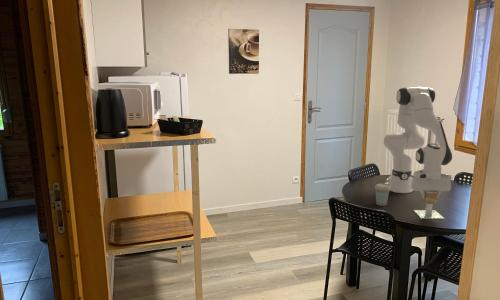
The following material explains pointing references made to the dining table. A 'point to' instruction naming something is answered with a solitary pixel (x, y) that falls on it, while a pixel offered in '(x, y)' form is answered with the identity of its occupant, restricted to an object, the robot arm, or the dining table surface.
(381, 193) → the coffee cup
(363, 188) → the dining table surface
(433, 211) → the post
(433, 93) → the robot arm
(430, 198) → the wood grain block
